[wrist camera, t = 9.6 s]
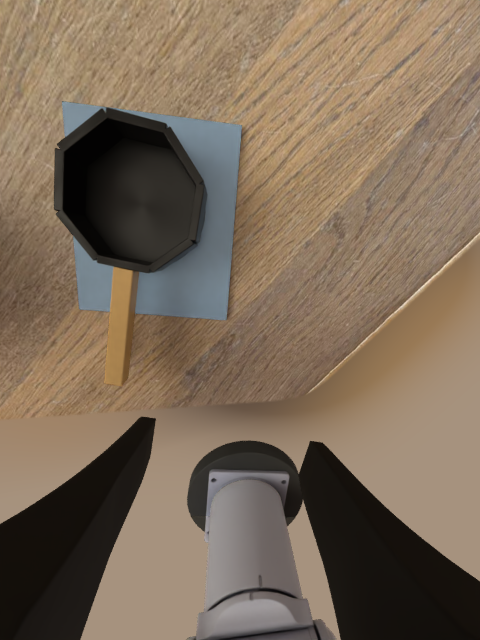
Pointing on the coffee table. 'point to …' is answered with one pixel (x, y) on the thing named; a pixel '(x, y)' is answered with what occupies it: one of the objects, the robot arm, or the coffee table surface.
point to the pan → (128, 209)
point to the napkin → (216, 237)
